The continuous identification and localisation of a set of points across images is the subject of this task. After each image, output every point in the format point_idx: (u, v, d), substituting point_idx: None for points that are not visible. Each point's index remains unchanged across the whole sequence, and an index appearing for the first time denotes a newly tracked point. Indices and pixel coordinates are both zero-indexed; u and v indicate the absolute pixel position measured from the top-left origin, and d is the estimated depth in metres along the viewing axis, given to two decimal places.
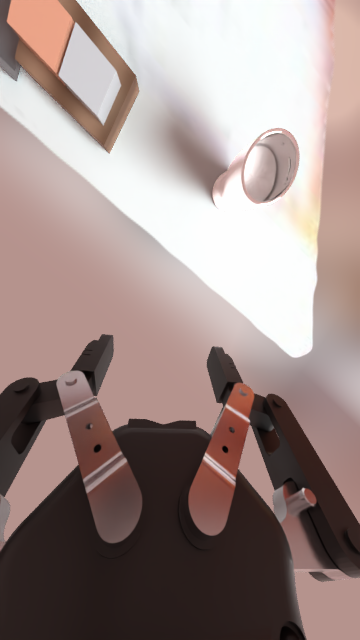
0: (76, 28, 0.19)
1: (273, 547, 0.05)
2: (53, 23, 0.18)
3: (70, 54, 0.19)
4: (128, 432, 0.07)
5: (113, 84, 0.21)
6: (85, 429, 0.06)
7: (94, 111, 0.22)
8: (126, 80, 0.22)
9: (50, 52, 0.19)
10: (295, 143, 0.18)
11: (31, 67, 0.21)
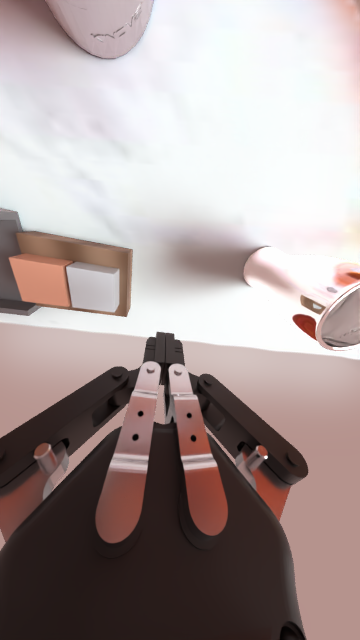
0: (68, 270, 0.18)
1: (269, 533, 0.05)
2: (51, 279, 0.18)
3: (73, 289, 0.19)
4: None
5: (115, 281, 0.20)
6: (137, 414, 0.07)
7: (110, 311, 0.21)
8: (122, 262, 0.20)
9: (59, 297, 0.20)
10: None
11: None
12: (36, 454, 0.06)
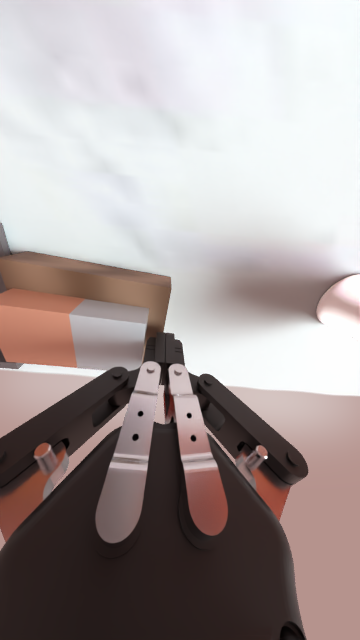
0: (73, 319, 0.11)
1: (269, 533, 0.05)
2: (52, 332, 0.11)
3: (80, 344, 0.12)
4: None
5: (145, 330, 0.13)
6: (137, 414, 0.07)
7: None
8: (160, 300, 0.13)
9: (64, 356, 0.13)
10: None
11: None
12: (36, 454, 0.06)
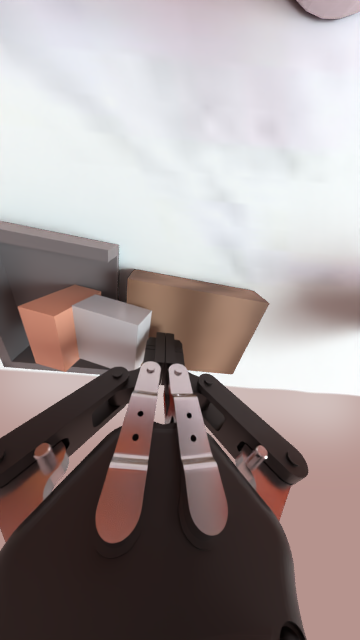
0: (75, 310, 0.12)
1: (269, 533, 0.05)
2: None
3: (81, 336, 0.13)
4: None
5: (141, 332, 0.12)
6: (137, 413, 0.07)
7: None
8: (256, 313, 0.15)
9: None
10: None
11: None
12: (36, 454, 0.06)
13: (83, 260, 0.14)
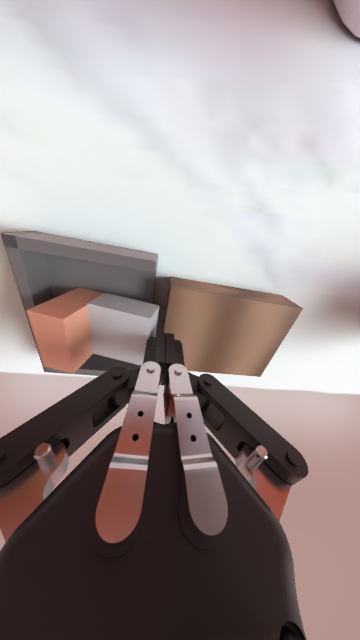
0: (90, 308, 0.13)
1: (269, 533, 0.05)
2: None
3: (95, 332, 0.14)
4: None
5: (152, 325, 0.13)
6: (137, 414, 0.07)
7: (140, 364, 0.15)
8: (289, 318, 0.15)
9: None
10: None
11: None
12: (36, 454, 0.06)
13: (124, 269, 0.14)
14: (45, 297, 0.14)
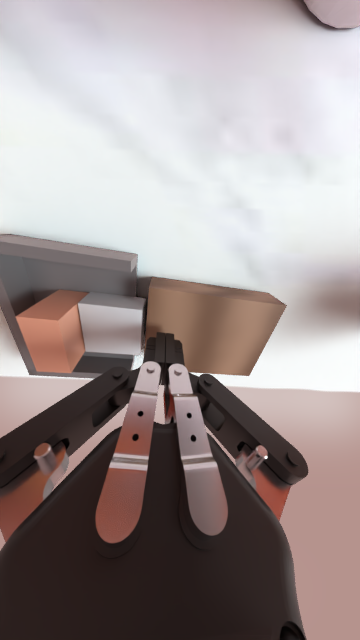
0: (81, 307, 0.13)
1: (269, 533, 0.05)
2: None
3: (87, 330, 0.14)
4: None
5: (142, 316, 0.15)
6: (137, 414, 0.07)
7: (135, 353, 0.16)
8: (273, 316, 0.15)
9: None
10: None
11: None
12: (36, 454, 0.06)
13: (103, 270, 0.14)
14: (25, 300, 0.14)
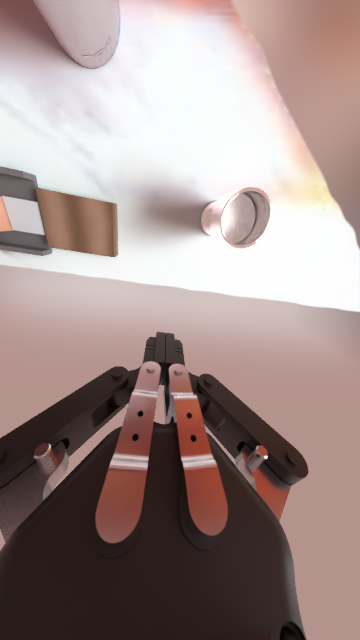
0: (4, 198, 0.27)
1: (269, 533, 0.05)
2: None
3: (10, 214, 0.28)
4: None
5: (39, 209, 0.29)
6: (137, 414, 0.07)
7: (40, 233, 0.30)
8: (108, 210, 0.29)
9: None
10: (257, 190, 0.19)
11: (58, 244, 0.31)
12: (36, 454, 0.06)
13: (18, 183, 0.28)
14: None
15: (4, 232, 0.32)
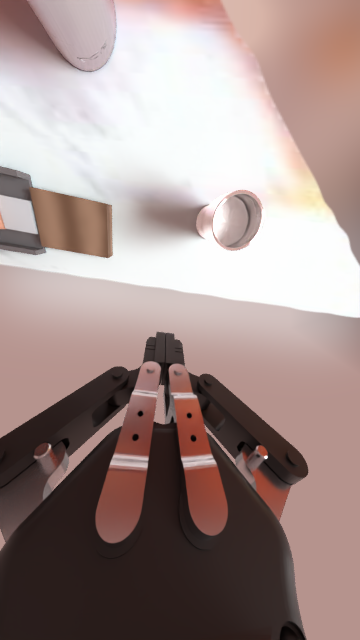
0: None
1: (269, 533, 0.05)
2: None
3: (3, 212, 0.28)
4: None
5: (33, 208, 0.28)
6: (137, 413, 0.07)
7: (33, 232, 0.30)
8: (102, 211, 0.29)
9: None
10: (249, 193, 0.19)
11: (51, 244, 0.31)
12: (36, 454, 0.06)
13: (12, 182, 0.28)
14: None
15: None
